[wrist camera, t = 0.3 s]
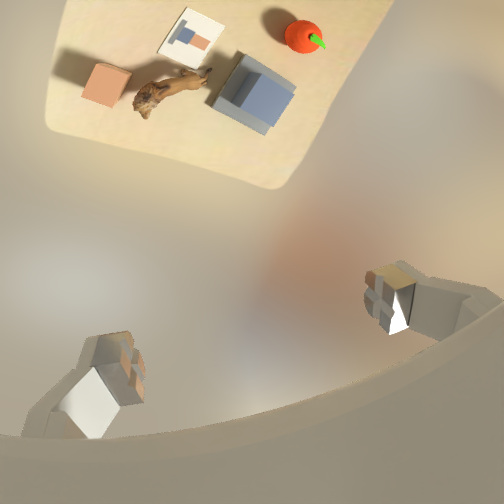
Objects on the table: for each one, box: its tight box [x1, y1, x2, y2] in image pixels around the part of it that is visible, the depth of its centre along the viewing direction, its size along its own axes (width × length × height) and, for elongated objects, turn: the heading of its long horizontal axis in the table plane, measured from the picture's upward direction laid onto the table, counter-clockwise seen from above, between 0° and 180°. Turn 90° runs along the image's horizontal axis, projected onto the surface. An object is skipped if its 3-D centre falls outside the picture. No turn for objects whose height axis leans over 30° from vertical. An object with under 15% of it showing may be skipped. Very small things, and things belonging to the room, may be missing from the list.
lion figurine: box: [132, 68, 212, 119], centre depth 42 cm, size 15×5×9 cm, turn 110°
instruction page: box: [158, 8, 225, 70], centre depth 41 cm, size 10×8×1 cm
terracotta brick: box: [81, 63, 133, 108], centre depth 38 cm, size 6×6×9 cm
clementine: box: [285, 20, 326, 54], centre depth 44 cm, size 8×7×7 cm
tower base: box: [211, 54, 296, 136], centre depth 48 cm, size 12×12×8 cm
